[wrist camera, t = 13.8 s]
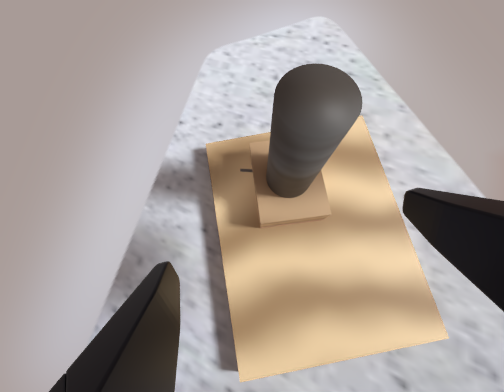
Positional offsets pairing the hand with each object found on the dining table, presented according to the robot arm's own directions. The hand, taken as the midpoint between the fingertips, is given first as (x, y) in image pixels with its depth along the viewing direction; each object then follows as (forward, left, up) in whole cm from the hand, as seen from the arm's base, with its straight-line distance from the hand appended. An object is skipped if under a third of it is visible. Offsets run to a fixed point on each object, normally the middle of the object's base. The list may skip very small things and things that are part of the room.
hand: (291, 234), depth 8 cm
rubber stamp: (+5, -2, -11) cm, 12 cm away
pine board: (+1, -4, -12) cm, 13 cm away
